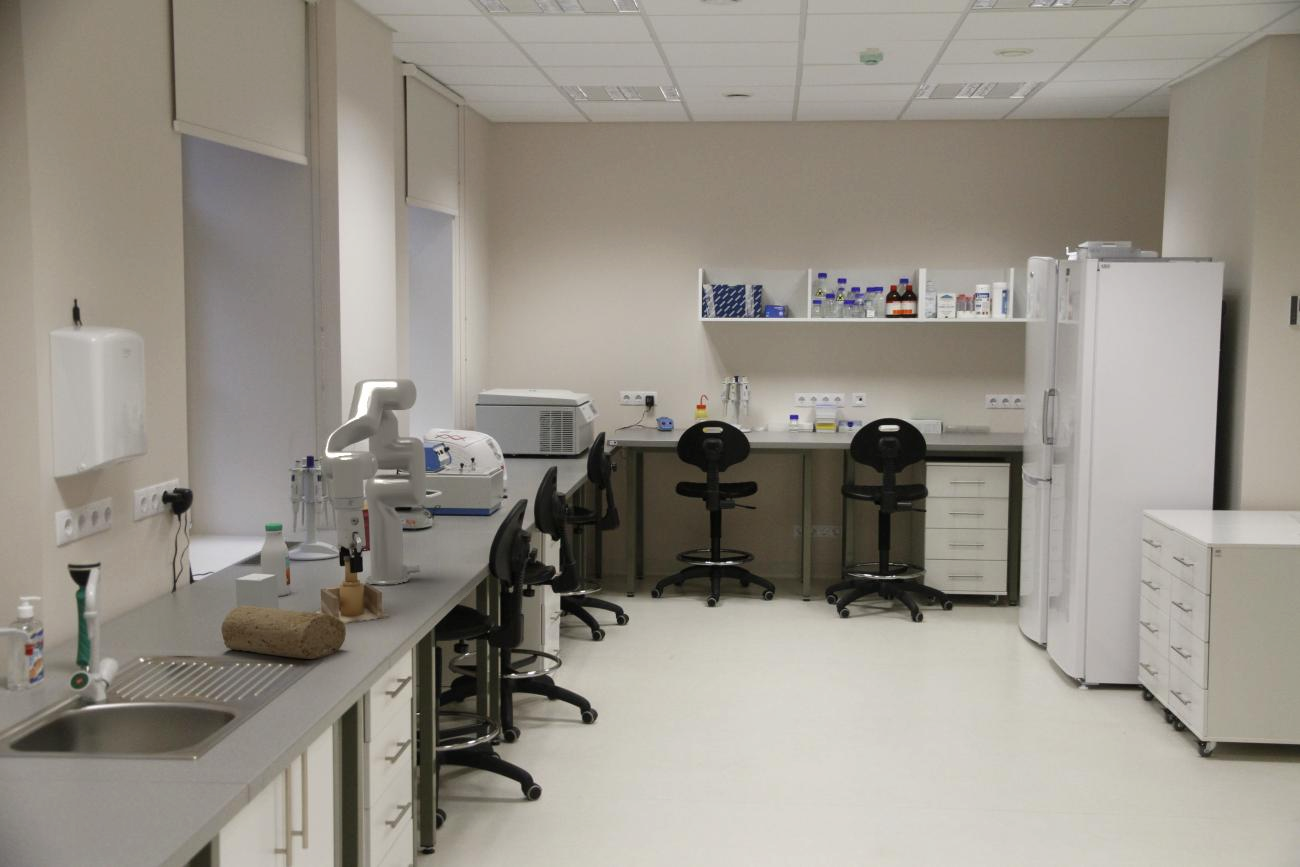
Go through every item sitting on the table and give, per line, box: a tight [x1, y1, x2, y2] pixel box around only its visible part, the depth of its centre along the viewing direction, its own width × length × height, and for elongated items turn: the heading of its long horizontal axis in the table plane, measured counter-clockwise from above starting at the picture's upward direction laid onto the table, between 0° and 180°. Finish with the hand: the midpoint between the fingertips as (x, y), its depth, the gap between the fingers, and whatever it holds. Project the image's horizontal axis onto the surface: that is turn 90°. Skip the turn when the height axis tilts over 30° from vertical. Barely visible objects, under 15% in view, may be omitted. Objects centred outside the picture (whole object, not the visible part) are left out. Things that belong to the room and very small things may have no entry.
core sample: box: [220, 605, 347, 660], centre depth 272 cm, size 14×26×10 cm, turn 66°
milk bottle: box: [260, 522, 292, 597], centre depth 332 cm, size 8×8×20 cm
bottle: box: [338, 555, 364, 616], centre depth 305 cm, size 6×6×15 cm
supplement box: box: [235, 573, 279, 609], centre depth 296 cm, size 7×7×13 cm
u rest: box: [315, 583, 389, 624], centre depth 306 cm, size 15×14×7 cm
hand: (351, 569), depth 305 cm, fingers open, 9 cm apart
